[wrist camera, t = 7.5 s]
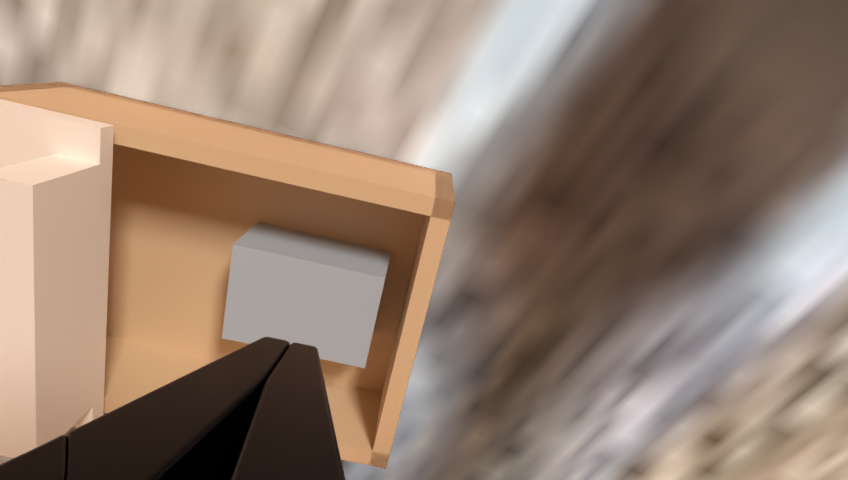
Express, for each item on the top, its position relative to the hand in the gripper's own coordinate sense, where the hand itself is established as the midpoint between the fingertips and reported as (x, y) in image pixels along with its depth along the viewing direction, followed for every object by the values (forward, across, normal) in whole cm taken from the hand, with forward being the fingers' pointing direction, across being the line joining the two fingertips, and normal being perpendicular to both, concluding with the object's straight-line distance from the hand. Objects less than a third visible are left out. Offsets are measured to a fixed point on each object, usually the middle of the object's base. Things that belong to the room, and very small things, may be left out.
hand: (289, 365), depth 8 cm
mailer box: (+12, +4, +4) cm, 13 cm away
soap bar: (+11, +2, +4) cm, 12 cm away
